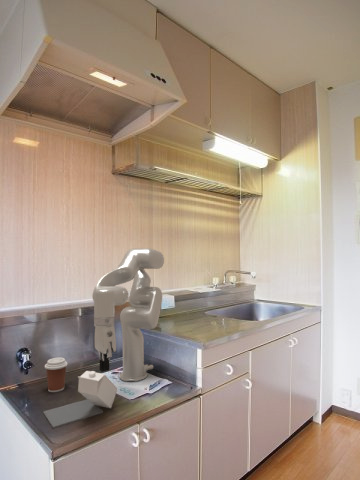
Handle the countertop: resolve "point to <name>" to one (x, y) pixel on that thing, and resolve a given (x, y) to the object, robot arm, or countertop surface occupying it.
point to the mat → (71, 413)
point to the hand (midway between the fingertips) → (104, 370)
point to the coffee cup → (56, 374)
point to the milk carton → (97, 388)
